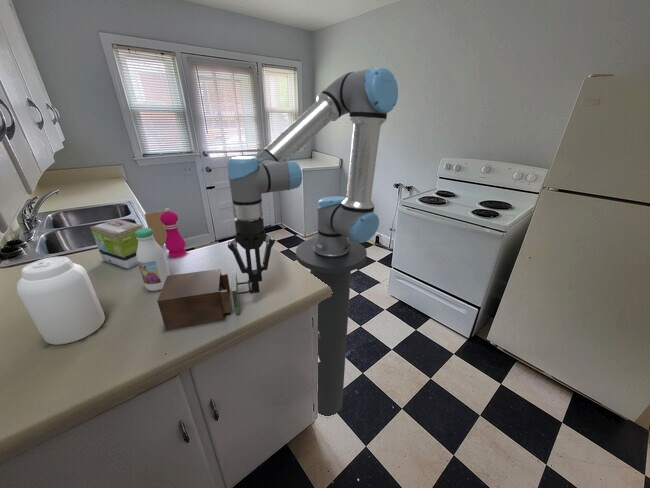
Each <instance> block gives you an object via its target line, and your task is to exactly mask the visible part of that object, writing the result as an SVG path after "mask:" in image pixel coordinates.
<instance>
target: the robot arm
mask: <svg viewBox="0 0 650 488" xmlns="http://www.w3.org/2000/svg"><path fill="white" fill-rule="evenodd" d="M398 98H399V87H398V82H397V79H396V78H395V75H394V74H393V72H392V71H391V70H390V69H388V68H385V67H371V68H367V69H362V70H355V71H349V72H346V73H344V74H342V75H340V76H338V77H337V78H336V79H335V80H334V81H333V82H331V83H330V84H329V85H328V86H327V87H326V88H325V89H323V90H322V91H320V93H319V94H317V95H316V101H315V102H313V104H312V105H310V107H308V108H307V109H306V110H305V111H304V112H303V113H302V114H301V115H300V116H299V117H297V119H295V120H294V121H293V122H292V123H290V125H289V126H288V127H286V128H285V129H284V130H283V131H282V132H281V133H280V134H279V135H277V136H276V138H274V139H273V140H272V141H271V142H270V143H269V144H268V145H267V146H266V147H265V148H263V149H262V150H260V152H259V153H258V154H256V155H250V156H249V155H244V156H242V155H240V156H233V157H231V158H229V159H228V161H227V174H228V176H227V177H228V183H229V188H230V195H231V205H232V211H233V217H234V226H235V236H234V239H232V240H230V241H228V242H227V248H228V249H229V250H230V252H231V253H232V254H233V256H234V258H235V261H236V263H237V265H238V267H239V270H240V272H241V274H247V275H248V280H249V282H250V283H253V284H254V293H253V294H257V293H260V284H259V282H263V273H262V272H263V271H267V270H268V268H269V263H270V257H271V252H272V248H273V246H274V244H275V243H276V241H275V239H274V236H269V235H267V233H266V231H265V222H264V221H265V220H264V217H263V216H264V211H263V210H264V209H263V197H262V194H268V193H275V192H282V191H283V192H285V191H290V190H294V189H298V188H299V187H300V186H301V185H302V182H303V172H302V168H301V166H300V164H298V162H296V161H290V160H291V159H292V158H293V157H294V156H296V154H298V152H300V151H301V150H302V149H303V148H304V147H305V146H306V145H307V144H308V143H310V142H311V140H312V139H313V138H314V137H316V135H318V134H319V133H320V131H322V130H323V129H324V128H325V127H326V126H327V125H329V123H330V122H336V121H337V120H338V119H339V118H340V117H342V116H344V115H347V114H349V115H348V116H349V120H350V121H351V122H352V124H353V125H352V136H351V147H350V157H349V167H348V178H347V189H346V196H340V195H339V196H338V195H335V196H334V195H333V196H325V197H321V198H320V199H319V200H318V201H317V208H316V209H317V235H316V237H315V238H316V240H315V243H314V246H313V251H314V253H315V254H316V255H318V256H320V257H324V258H340V257H344V256H346V255H347V254H348V253H349V246H350V244H348V240H347V238H348V239H350V240H352V241H356V242H358V243H360V244H362V243H366V242H368V241H370V240H371V239H372V238H373V236H375V234H376V233H377V231H378V228H379V226H380V218H379V216H378V214H376V213H375V212H374V211H375V203H374V202H373V200H372V194H373V185H374V178H375V170H376V164H377V157H378V156H377V155H378V148H379V142H380V141H379V140H380V133H381V126H382V125H383V124H384V123H385V122H387V117H388V113H390V112H391V111H393V110H394V108H395V107H396V105H397V102H398ZM264 242H265V249H264V254H263V260H262V261H261V252H260V251H261V250H260V248H261V247H262V246H263V244H264ZM238 245H239V246H240V247H241V248H243V250H245V259H246V265H245V263H244V260H243V258H242V256H241V254H240V251H239V249H238ZM251 250H254V256H255V265H256V269H253V267H252V266H253V265H252V255H251ZM261 262H262V263H261Z"/></svg>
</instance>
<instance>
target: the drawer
mask: <svg viewBox="0 0 650 488" xmlns="http://www.w3.org/2000/svg"><path fill="white" fill-rule="evenodd" d="M247 284H248V289H245V290H240V289H239V286H240V285H247ZM220 286H221V287H222V288H223V290H222V291H219V295H220V300H221V306H222V311H223V314H224V315H225V314H230V313H231V303H232V302H233V307H234V308H233V309H234V314H235V315H237V314H240V313H241V311H240V295H241V294H248V293H249V294H250V295H252V294H255V293H254V284H253V283H250V282H249V279H248V280H244V281H238V275H237V270H232V271H231V286H230V280H229V274H228V273H227V272H226V273H221V275H220ZM231 295H232V296H231ZM231 297H232V298H231ZM231 300H232V302H231Z"/></svg>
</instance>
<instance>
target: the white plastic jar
mask: <svg viewBox="0 0 650 488" xmlns="http://www.w3.org/2000/svg"><path fill="white" fill-rule="evenodd" d="M20 275H21V277H20V278H19V280H18V281H17V282H16V293H17V295H18V297H19V298H20V300H21V302H22V304H23V306H24V307H25V309H26V311H27V312H28V314H29V316H30V318H31V320H32V321H33V323H34V326H35V327H36V329H37V330H38V332H39V333H40V336H41V337H42V339H43V340H44V341H45V342H46V343H47V344H49V345H55V346H59V345H60V346H61V345H67V344H70V343H75V342H77V341H79V340H83V339H85V338H86V337H88V336H90V335H92V334H93V333H95V332H96V331H97V330H99V329H100V328H101V327H102V326H103V325H104V322H105V320H106V316H105V315H106V314H105V313H104V310H103V307H102V305H101V303H100V301H99V298H98V295H97V293H96V290H95V289H94V285H93V284H92V281H91V279H90V276H89V274H88V272H87V270H86V269H85V267H83V265H80V264H78V263H75V262H73V261H72V260H71V259H70V258H69V257H67V256H62V255H61V256H50V257H46V258H41V259H39V260H36V261H33V262H30V263H29V264H27V265H25V266H24V267H23V268H21V274H20Z"/></svg>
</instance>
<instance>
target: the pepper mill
mask: <svg viewBox="0 0 650 488" xmlns="http://www.w3.org/2000/svg"><path fill="white" fill-rule="evenodd" d="M164 211H165V212H164V213H162V214H161V216H160V220H161V222H162V223H163V224H164V225H163V226H164V228H165V229H166V232H167V237H166V242H165V244H164V245H165V249H166V250H167V251H168V256H169V257H170V258H173V259H175V258H176V259H177V258H181V257H184V256H185V255H186V254H187V250H186V248H185V247H186V241H185V239H184V237H183V236H182V235H181V234H180V231H179V228H178V227H179V223H178V220H179V217H178V214H177V213H176V212H175V211H172V210H171V209H170V208H169V207H165V208H164Z"/></svg>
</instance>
